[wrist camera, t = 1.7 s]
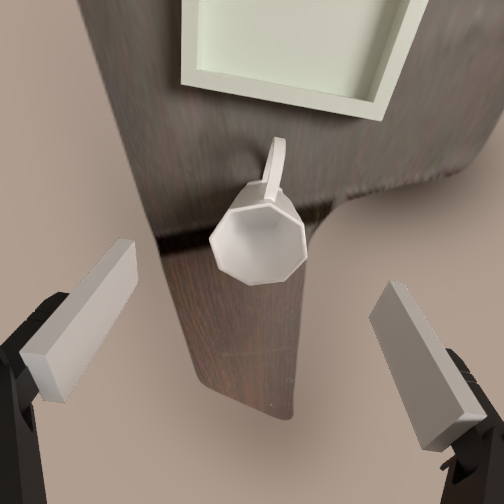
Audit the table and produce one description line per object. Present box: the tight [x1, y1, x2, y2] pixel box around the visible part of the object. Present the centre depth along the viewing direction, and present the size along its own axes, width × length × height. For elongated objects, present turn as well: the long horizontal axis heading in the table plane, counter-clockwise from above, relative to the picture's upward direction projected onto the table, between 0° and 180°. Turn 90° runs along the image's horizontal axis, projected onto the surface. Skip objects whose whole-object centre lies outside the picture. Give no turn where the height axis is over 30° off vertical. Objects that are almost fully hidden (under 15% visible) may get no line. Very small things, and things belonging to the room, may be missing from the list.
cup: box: [209, 137, 308, 286], centre depth 22 cm, size 7×10×8 cm
